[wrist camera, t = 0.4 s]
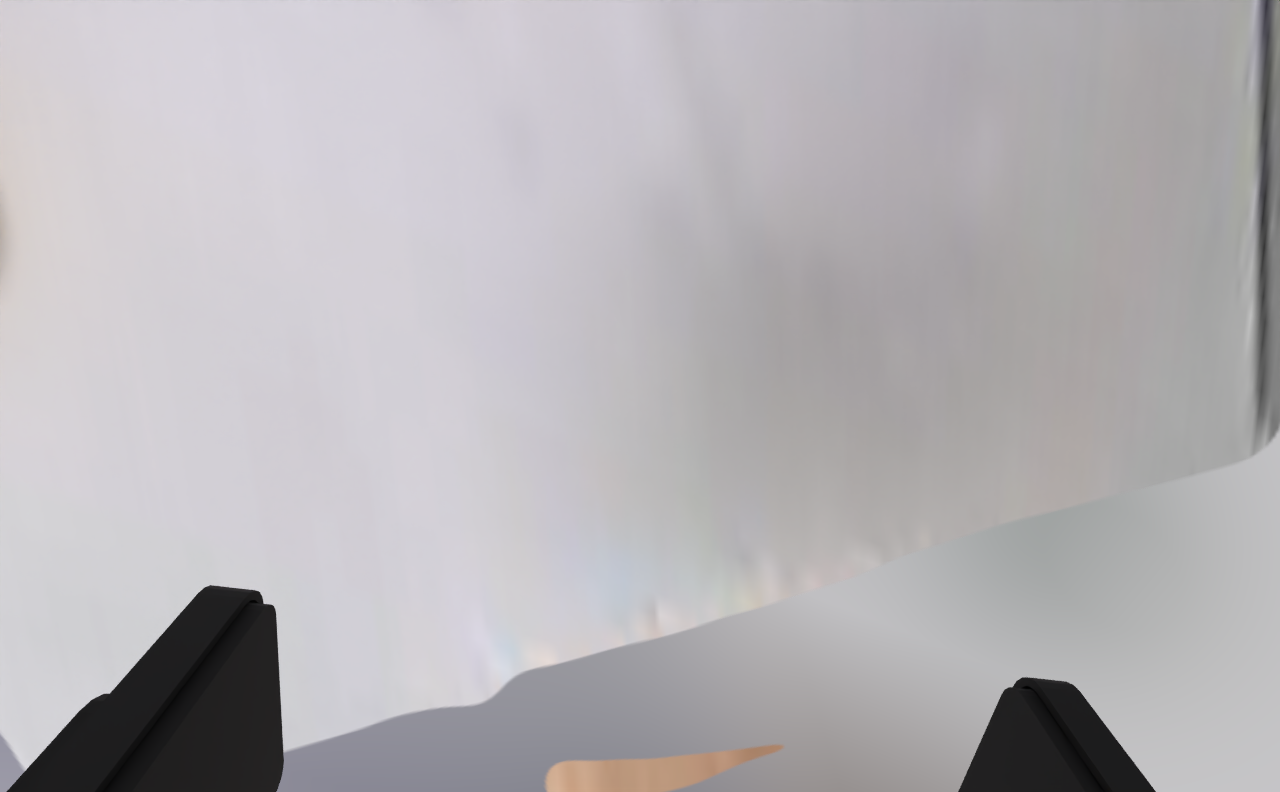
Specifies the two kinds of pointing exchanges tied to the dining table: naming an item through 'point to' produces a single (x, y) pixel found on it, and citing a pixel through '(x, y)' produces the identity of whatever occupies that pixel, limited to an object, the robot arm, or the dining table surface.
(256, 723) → the robot arm
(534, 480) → the dining table surface
